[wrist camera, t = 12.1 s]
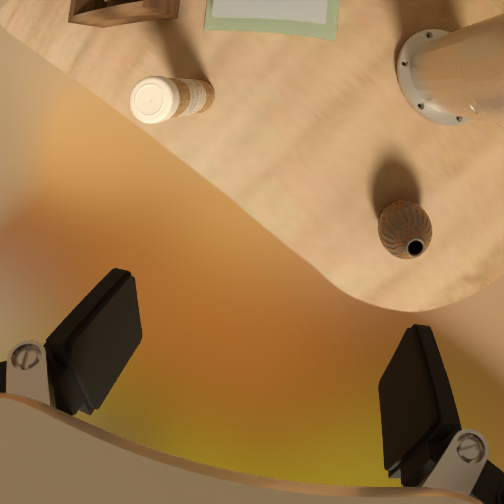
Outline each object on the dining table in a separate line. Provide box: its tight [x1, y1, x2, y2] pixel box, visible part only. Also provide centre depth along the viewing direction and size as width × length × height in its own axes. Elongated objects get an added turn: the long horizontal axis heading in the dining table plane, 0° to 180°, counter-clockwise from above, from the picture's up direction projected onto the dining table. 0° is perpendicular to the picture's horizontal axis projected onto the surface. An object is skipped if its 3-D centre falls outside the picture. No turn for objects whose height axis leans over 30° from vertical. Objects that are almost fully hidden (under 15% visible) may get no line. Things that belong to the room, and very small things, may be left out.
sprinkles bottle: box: [130, 76, 214, 123], centre depth 31 cm, size 5×5×13 cm
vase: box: [378, 200, 432, 259], centre depth 36 cm, size 7×7×9 cm
